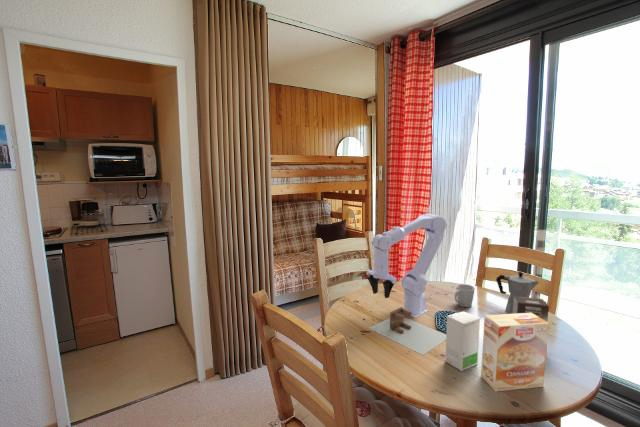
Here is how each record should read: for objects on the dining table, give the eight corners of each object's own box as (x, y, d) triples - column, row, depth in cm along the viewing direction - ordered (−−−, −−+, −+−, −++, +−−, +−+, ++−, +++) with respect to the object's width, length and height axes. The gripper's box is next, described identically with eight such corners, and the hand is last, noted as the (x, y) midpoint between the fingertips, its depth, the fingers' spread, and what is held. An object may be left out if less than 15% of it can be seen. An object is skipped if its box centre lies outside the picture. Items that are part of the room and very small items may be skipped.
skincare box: (461, 372, 96) (463, 324, 94) (443, 360, 102) (445, 315, 100) (478, 364, 100) (481, 317, 98) (461, 353, 106) (463, 309, 103)
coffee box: (514, 346, 109) (517, 302, 107) (510, 337, 115) (512, 295, 113) (545, 350, 106) (549, 305, 104) (539, 341, 112) (542, 298, 110)
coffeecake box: (495, 392, 87) (499, 326, 84) (479, 375, 94) (483, 314, 91) (545, 387, 88) (550, 322, 86) (526, 371, 95) (530, 311, 93)
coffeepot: (535, 311, 135) (538, 271, 133) (537, 320, 127) (540, 278, 125) (495, 304, 143) (497, 266, 140) (494, 312, 135) (496, 272, 133)
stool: (389, 329, 122) (390, 312, 121) (400, 323, 126) (401, 307, 125) (401, 334, 118) (401, 316, 117) (411, 328, 122) (412, 311, 121)
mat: (396, 314, 134) (396, 314, 134) (450, 337, 116) (450, 336, 116) (368, 328, 123) (368, 328, 123) (423, 355, 105) (423, 355, 105)
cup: (477, 306, 141) (478, 288, 140) (461, 310, 137) (462, 292, 136) (463, 300, 148) (464, 283, 147) (448, 304, 144) (448, 286, 143)
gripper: (361, 262, 132) (361, 292, 134) (389, 270, 121) (389, 303, 123) (372, 258, 136) (372, 288, 138) (400, 266, 125) (399, 298, 127)
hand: (381, 295), depth 131 cm, fingers open, 6 cm apart
